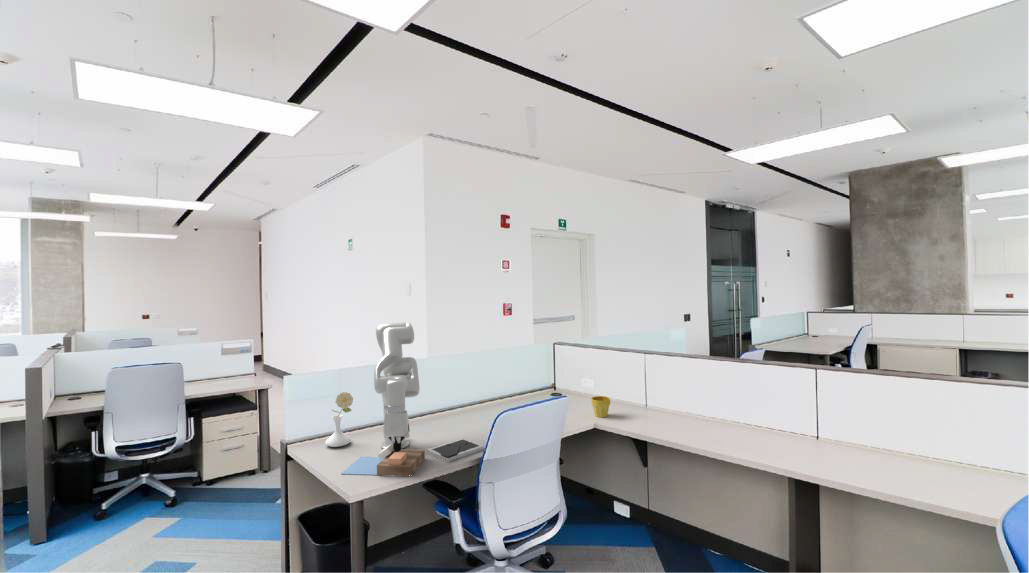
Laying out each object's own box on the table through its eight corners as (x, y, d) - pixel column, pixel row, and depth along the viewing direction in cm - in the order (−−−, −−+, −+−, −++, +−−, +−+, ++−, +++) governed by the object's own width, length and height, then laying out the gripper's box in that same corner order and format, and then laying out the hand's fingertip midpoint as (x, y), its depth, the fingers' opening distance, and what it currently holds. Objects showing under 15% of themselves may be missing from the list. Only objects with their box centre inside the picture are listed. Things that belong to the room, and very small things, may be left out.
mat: (360, 457, 211) (360, 456, 211) (393, 458, 209) (393, 457, 209) (341, 474, 193) (341, 473, 193) (377, 475, 191) (377, 474, 191)
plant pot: (591, 418, 260) (591, 400, 260) (591, 413, 270) (590, 395, 270) (611, 418, 259) (610, 400, 259) (609, 413, 269) (609, 396, 269)
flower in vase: (323, 450, 221) (321, 396, 220) (327, 442, 232) (325, 390, 231) (353, 447, 224) (351, 394, 223) (355, 439, 235) (354, 388, 234)
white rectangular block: (386, 453, 207) (383, 449, 208) (396, 447, 207) (392, 442, 207) (380, 459, 200) (377, 454, 201) (390, 453, 200) (386, 448, 200)
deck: (393, 458, 209) (393, 449, 209) (424, 458, 207) (424, 449, 207) (377, 475, 191) (376, 465, 191) (411, 476, 190) (410, 466, 189)
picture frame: (447, 463, 203) (484, 450, 218) (447, 456, 203) (484, 444, 218) (426, 454, 215) (463, 442, 229) (426, 447, 215) (463, 436, 229)
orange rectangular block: (394, 458, 199) (394, 452, 198) (406, 458, 198) (406, 452, 198) (388, 464, 192) (388, 458, 192) (400, 464, 191) (400, 458, 191)
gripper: (375, 411, 200) (377, 454, 201) (410, 411, 199) (411, 455, 199) (382, 406, 208) (383, 448, 208) (416, 406, 206) (417, 448, 207)
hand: (397, 451), depth 204 cm, fingers closed
